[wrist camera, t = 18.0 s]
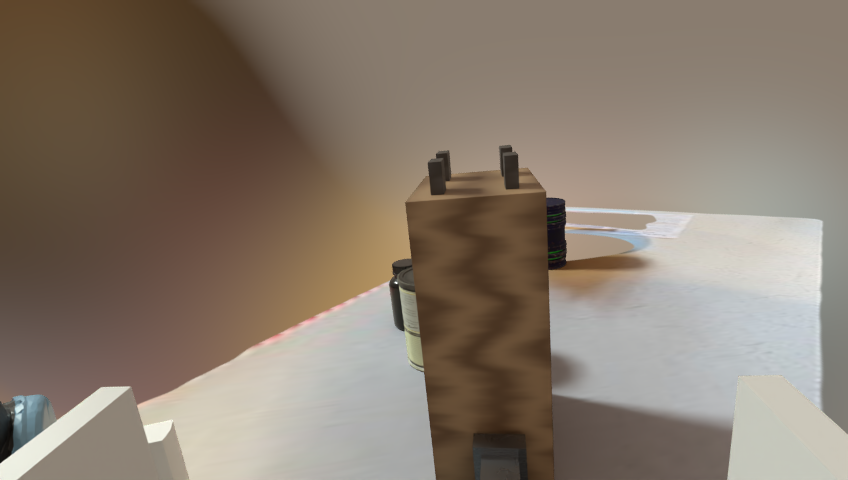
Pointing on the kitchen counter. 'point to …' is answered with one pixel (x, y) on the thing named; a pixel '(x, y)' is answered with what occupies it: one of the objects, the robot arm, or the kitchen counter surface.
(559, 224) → the storage jar
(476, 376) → the brown wooden tall block
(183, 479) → the white rounded-end block
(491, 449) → the grey bar
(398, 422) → the kitchen counter surface
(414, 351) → the coffee can
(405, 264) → the supplement bottle
